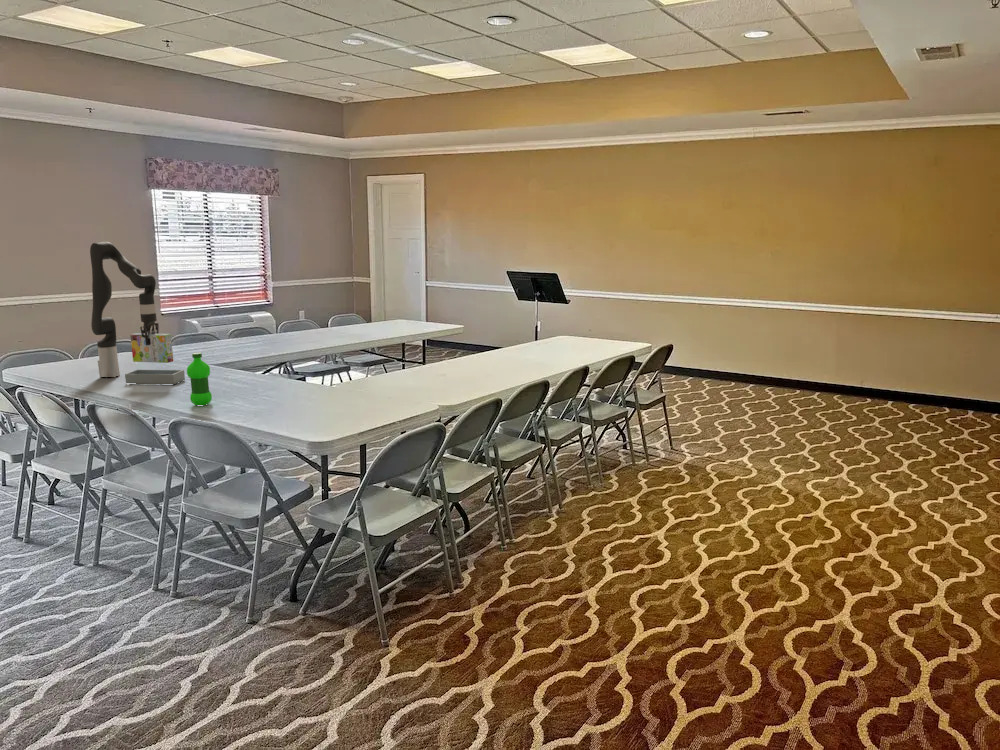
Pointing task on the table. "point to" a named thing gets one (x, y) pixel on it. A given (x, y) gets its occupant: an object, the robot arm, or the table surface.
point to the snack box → (152, 348)
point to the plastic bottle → (199, 380)
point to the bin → (155, 376)
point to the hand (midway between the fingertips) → (151, 343)
